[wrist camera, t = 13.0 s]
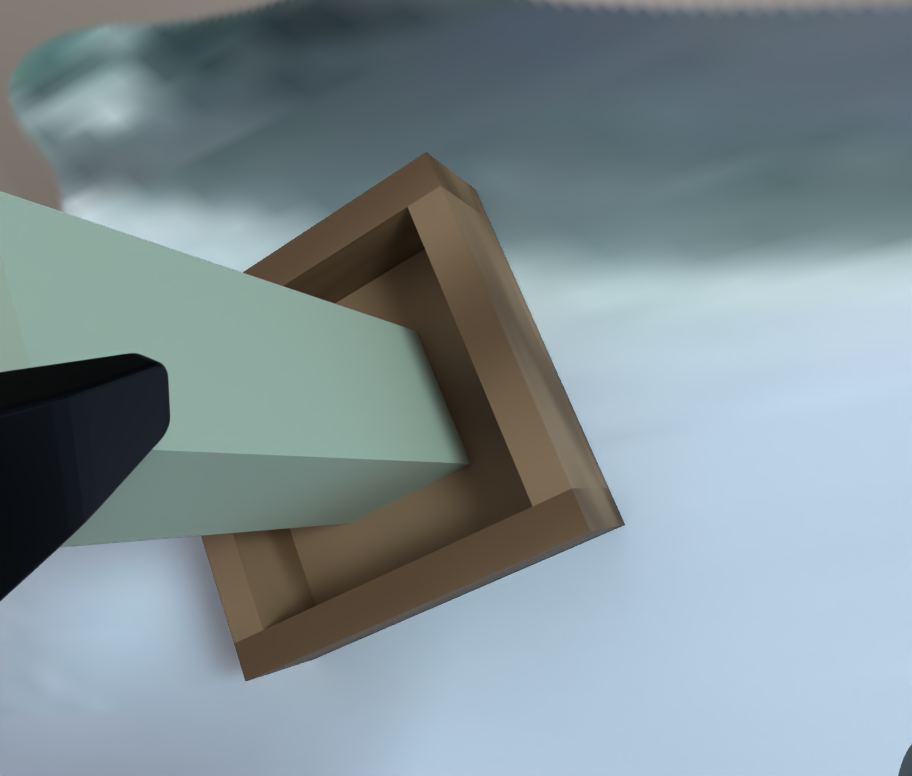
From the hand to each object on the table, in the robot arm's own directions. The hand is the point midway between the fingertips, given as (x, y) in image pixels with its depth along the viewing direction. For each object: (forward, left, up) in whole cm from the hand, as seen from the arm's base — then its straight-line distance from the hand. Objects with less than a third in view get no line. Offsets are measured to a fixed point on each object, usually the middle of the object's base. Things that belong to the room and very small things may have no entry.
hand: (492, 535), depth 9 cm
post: (-5, +7, -12) cm, 15 cm away
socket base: (-5, +7, -13) cm, 15 cm away
